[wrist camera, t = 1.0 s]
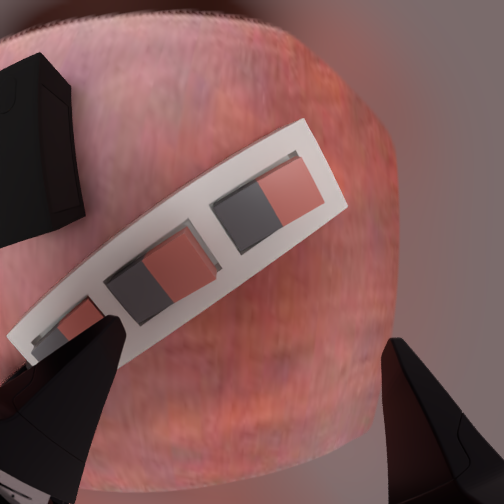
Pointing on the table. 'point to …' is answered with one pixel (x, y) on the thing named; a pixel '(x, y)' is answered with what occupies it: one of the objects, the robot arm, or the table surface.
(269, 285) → the table surface
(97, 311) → the rocker
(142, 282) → the rocker
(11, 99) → the black cubic block
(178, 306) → the rocker switch panel
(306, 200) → the rocker
